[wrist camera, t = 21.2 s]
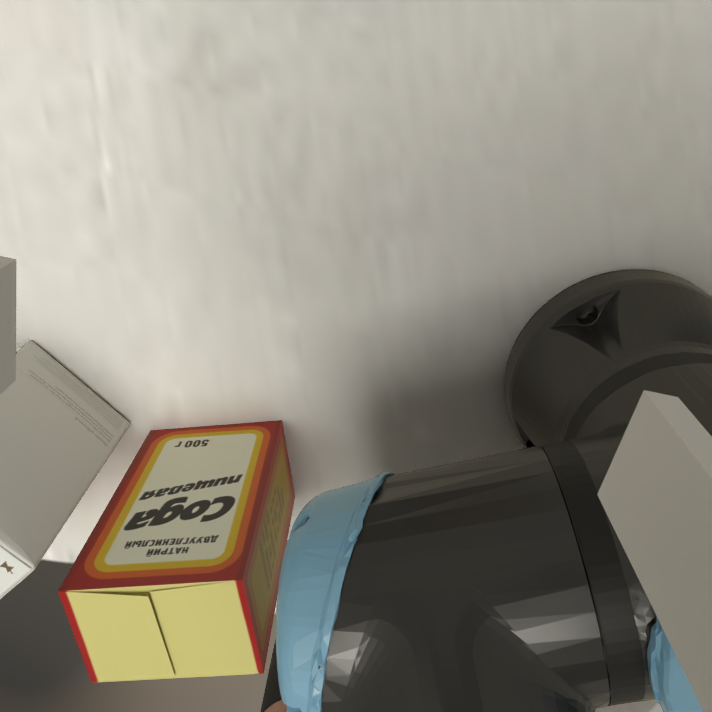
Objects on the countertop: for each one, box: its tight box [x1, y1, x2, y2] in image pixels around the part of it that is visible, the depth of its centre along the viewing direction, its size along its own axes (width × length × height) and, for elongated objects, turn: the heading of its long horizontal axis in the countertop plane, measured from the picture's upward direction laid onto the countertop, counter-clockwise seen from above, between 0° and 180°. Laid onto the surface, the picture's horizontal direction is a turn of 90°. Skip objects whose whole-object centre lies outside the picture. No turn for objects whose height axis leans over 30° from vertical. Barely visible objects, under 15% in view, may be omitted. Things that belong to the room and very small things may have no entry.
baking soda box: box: [58, 420, 295, 682], centre depth 42 cm, size 10×6×16 cm
